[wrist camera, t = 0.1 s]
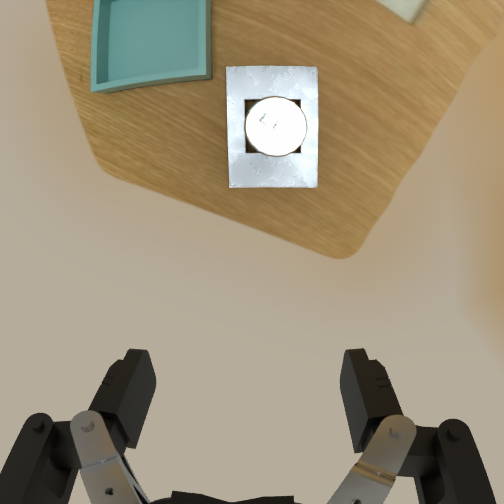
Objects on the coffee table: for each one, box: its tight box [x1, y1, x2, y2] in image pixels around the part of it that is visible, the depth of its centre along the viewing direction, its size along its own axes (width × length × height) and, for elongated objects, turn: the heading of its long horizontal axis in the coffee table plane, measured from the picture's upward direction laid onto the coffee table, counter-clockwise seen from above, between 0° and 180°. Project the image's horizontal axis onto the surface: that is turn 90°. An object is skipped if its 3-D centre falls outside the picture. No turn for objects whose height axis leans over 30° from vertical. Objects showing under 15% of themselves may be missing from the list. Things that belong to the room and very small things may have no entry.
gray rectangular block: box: [226, 66, 318, 188], centre depth 35 cm, size 14×10×2 cm
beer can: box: [244, 96, 307, 157], centre depth 30 cm, size 5×5×12 cm
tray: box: [91, 0, 212, 94], centre depth 29 cm, size 14×14×4 cm
